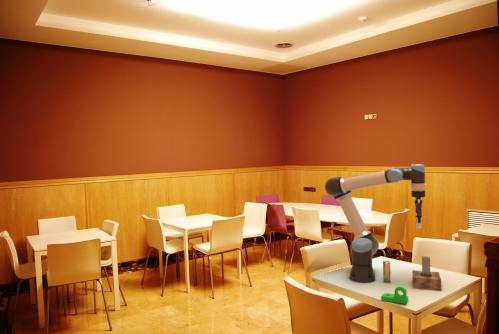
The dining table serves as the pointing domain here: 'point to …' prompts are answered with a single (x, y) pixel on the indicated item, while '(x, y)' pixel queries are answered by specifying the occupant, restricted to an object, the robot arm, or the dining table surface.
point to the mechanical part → (396, 296)
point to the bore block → (426, 281)
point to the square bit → (425, 266)
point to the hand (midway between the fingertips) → (418, 226)
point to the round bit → (386, 272)
